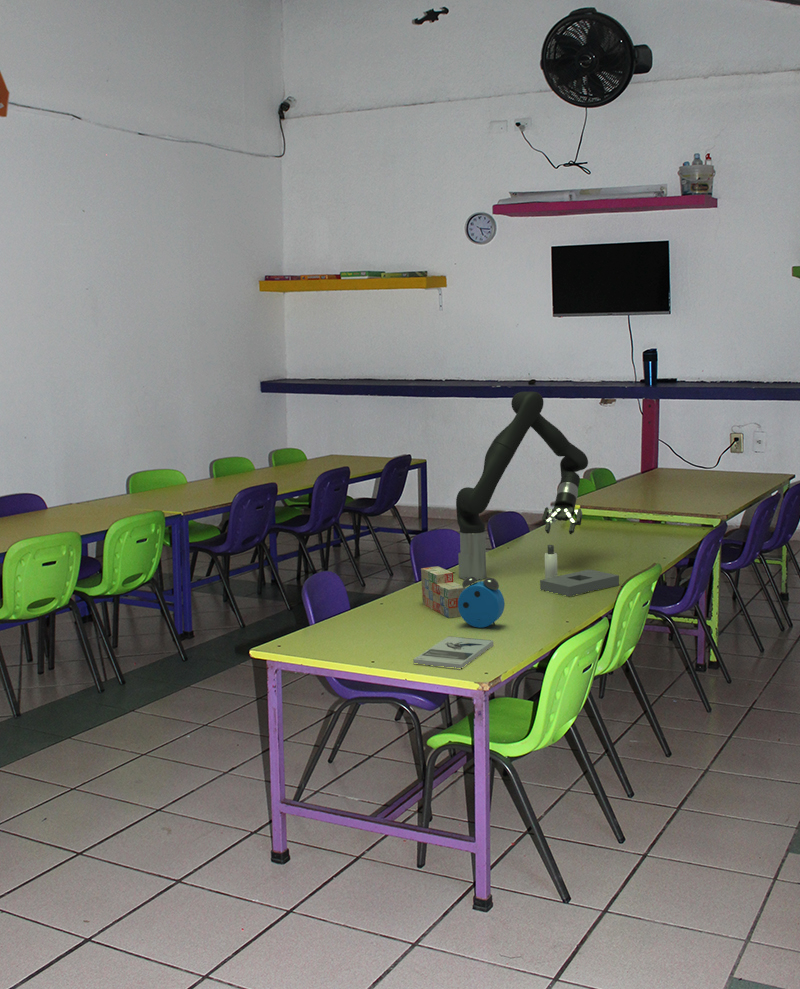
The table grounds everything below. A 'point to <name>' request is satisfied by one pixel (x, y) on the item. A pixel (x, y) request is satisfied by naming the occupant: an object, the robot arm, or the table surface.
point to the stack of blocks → (440, 591)
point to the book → (454, 652)
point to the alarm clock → (480, 602)
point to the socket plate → (579, 582)
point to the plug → (550, 563)
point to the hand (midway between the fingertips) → (558, 532)
